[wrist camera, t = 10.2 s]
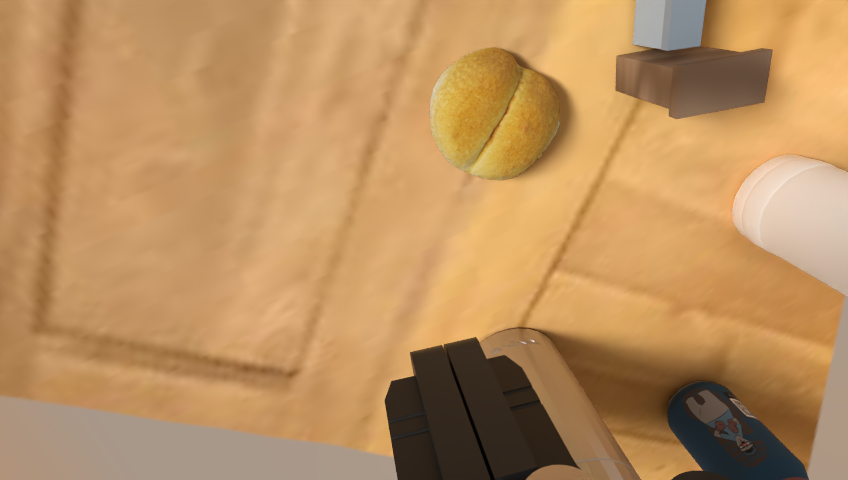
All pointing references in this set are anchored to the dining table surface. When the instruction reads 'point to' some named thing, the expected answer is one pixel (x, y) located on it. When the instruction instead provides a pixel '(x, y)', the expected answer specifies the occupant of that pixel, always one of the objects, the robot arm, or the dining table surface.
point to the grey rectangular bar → (668, 23)
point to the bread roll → (493, 115)
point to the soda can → (728, 436)
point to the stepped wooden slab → (695, 78)
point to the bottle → (798, 215)
